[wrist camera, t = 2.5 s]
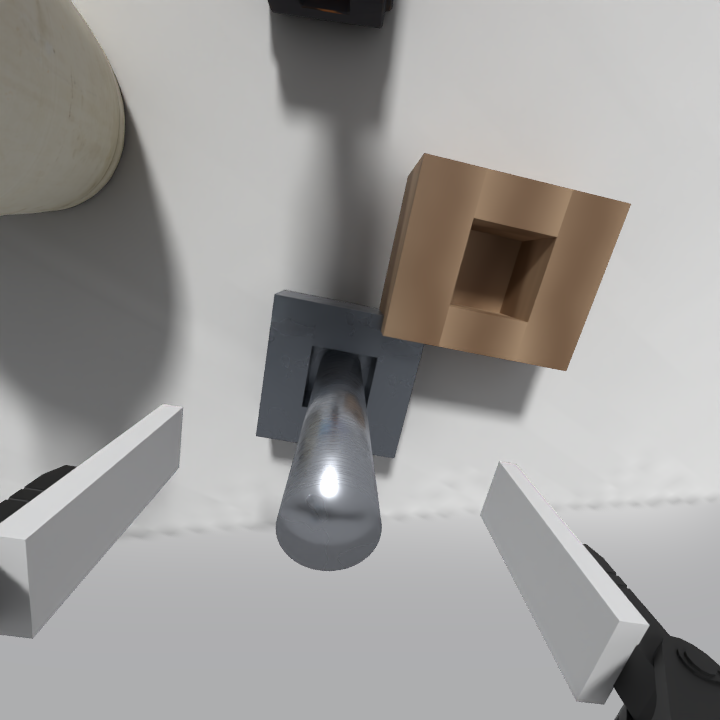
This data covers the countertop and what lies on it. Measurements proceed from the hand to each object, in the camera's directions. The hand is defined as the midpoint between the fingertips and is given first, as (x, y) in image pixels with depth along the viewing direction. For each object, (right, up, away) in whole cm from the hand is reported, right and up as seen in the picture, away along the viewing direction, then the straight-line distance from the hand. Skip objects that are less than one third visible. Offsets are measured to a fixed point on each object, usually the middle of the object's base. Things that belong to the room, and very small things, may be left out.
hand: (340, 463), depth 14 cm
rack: (+9, +11, +11) cm, 17 cm away
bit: (-1, +4, +12) cm, 12 cm away
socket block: (-1, +4, +12) cm, 13 cm away
